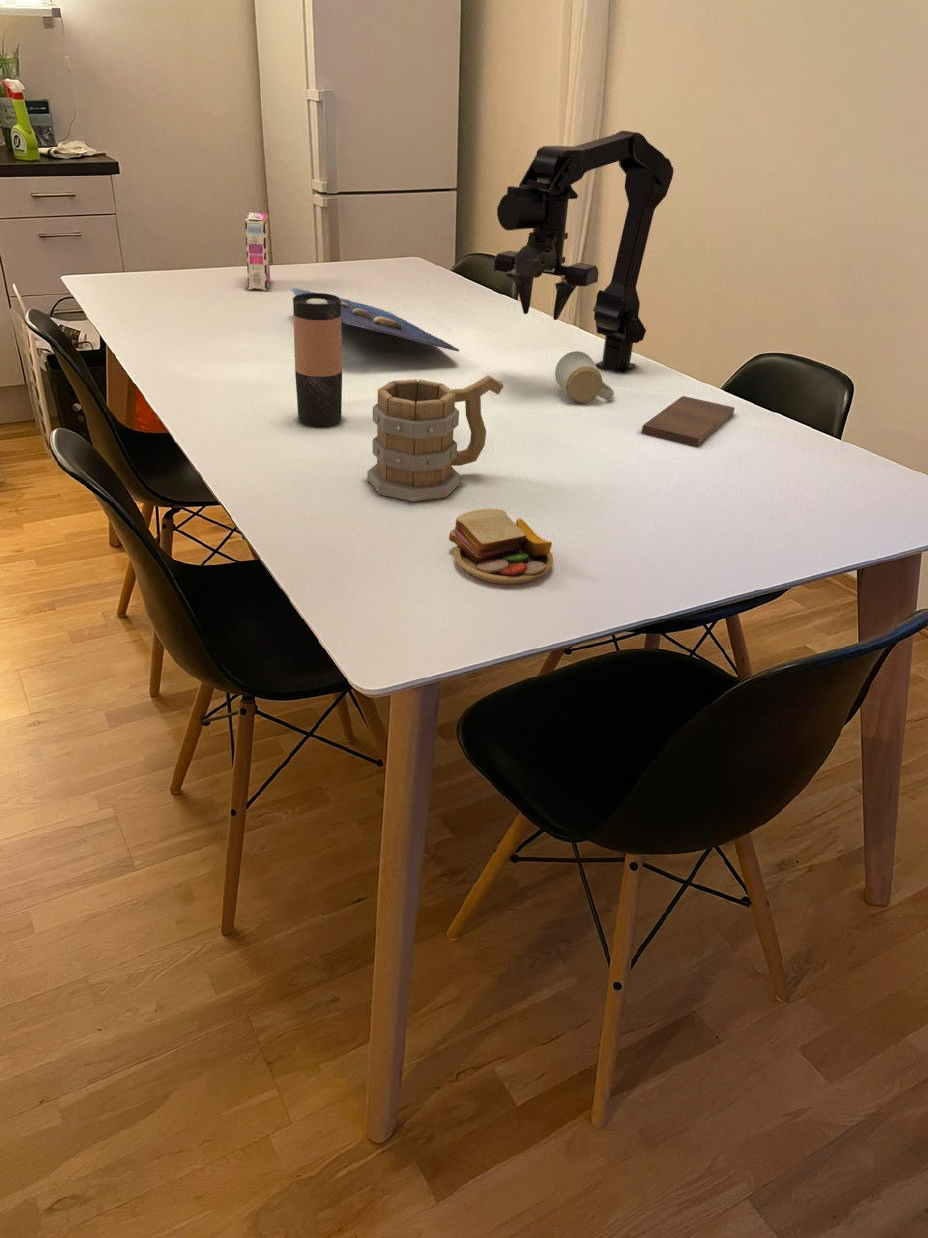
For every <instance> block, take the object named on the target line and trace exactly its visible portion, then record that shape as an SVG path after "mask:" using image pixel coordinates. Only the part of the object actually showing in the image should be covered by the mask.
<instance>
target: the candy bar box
mask: <svg viewBox="0 0 928 1238" xmlns="http://www.w3.org/2000/svg"><path fill="white" fill-rule="evenodd" d="M244 227H245V228H244V229H245V243H246V244H245V247H246V248H245V249H246V266H247V267H246V268H247V269H246V271H247V290H248V291H257V292H259V291H262V292H267V291H268V289H269V286H270V282H271V269H270V268H271V265H270V239H269V235H270V234H269V214H268V213H263V212H248V214H247V215H246V216H245V219H244Z"/></svg>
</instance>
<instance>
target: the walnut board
mask: <svg viewBox="0 0 928 1238" xmlns="http://www.w3.org/2000/svg"><path fill="white" fill-rule="evenodd" d="M734 413H735V407H734V406H730V405H726V404H720V403H716V402H712V401H707V400H702V399H698V398H694V397H689V396H685V395H682V396H681V397H679V398H678V399H677V400H675V401H674V402H672V403H671V404H669V405H667V407H666V408H664V409H663V410H662V411H660V412H659V413H657V414H656V415H655V416H653V417H651V419H649V420H648V421H647V422H645V423H643V425H642V426H641V427H642V428H641V434H643V435H646V436H651V437H655V438H660V439H663V440H668V441H671V442H676V443H679V444H684V445H688V446H692V447H696V448H698V447H699V446H700V445H701V444H702V443H703V442H704V441H706V440H707V439H708V438H709V437H710V436H711V435H712V434H713V433H715V432H716V431H717V430H718V429H719V428H721V427H722V426H723V425H724V424H725V423H726V422H727V421H728V420H730V419H731V418H732V417H733V416H734Z"/></svg>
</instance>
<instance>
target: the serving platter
mask: <svg viewBox="0 0 928 1238" xmlns="http://www.w3.org/2000/svg"><path fill="white" fill-rule="evenodd" d="M290 292H292V293H293V294H294V296H296V295H300V294H306V293H315V292H314V291H309V290H305V289H300V288H295V287H294V288H290ZM339 298H340V300H341V323H344V324H345V325H349V326H355V327H359V328H362V329H366V330H370V331H374V332H379V333H381V334H387V335H390V336H394V337H399V338H403V339H406V340H410V341H413V342H417V343H419V344H420V343H421V344H425V345H428V346H433V347H438V348H441V349H446V350H450V351H454V352H460V349H459V348H457V347H455V346H453V345H452V344H451V343H448V342H447V341H445V340H443V339H441V338H439V337H437V336H435V335H433V334H431V333H429V332H428V331H425V330H423V329H422V328H420V327H418V326H416V325H414V324H412V323H411V322H408V321H407V320H406V319H404V318H401V317H399V316H397V315H395V314H393V313H390V312H388V311H386V310H384V309H382V308H377V307H374V306H371V305H368V304H365V303H362V302H361V303H360V302H357V301H351V300H349V299H345V298H341V297H339Z"/></svg>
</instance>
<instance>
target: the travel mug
mask: <svg viewBox="0 0 928 1238" xmlns="http://www.w3.org/2000/svg"><path fill="white" fill-rule="evenodd" d="M340 298H341V297H339V296H338V295H335V294H329V293H322V292H314V293H306V294H300V295H294V296H293V297H292V311H293V312H292V313H293V344H294V345H293V346H294V349H293V350H294V374H295V375H294V377H295V389H296V390H295V391H296V403H297V416H298V417H297V418H298V422H299V423H300V424H301V425H304V426H306V427H309V428H319V429H320V428H331V427H335V426H337V425H339V424H340V423H341V422H342V402H343V401H342V400H343V399H342V398H343V343H342V341H343V340H342V339H343V337H342V336H343V335H342V321H341V300H340Z"/></svg>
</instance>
